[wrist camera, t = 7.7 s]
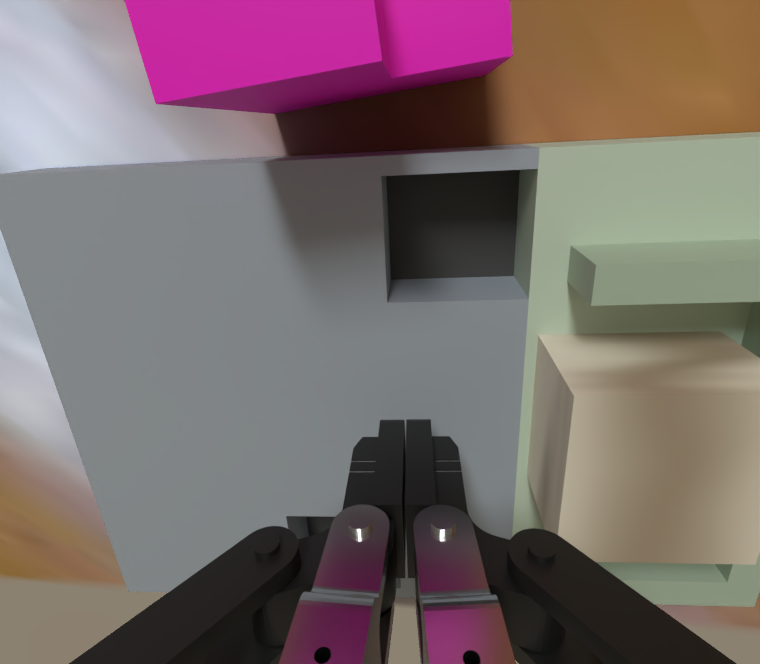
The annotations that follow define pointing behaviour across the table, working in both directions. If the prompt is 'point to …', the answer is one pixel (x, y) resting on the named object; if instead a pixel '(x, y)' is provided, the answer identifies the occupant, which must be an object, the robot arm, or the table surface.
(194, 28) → the toy block
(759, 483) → the birch block
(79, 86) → the table surface
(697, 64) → the table surface
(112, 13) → the table surface
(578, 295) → the board
